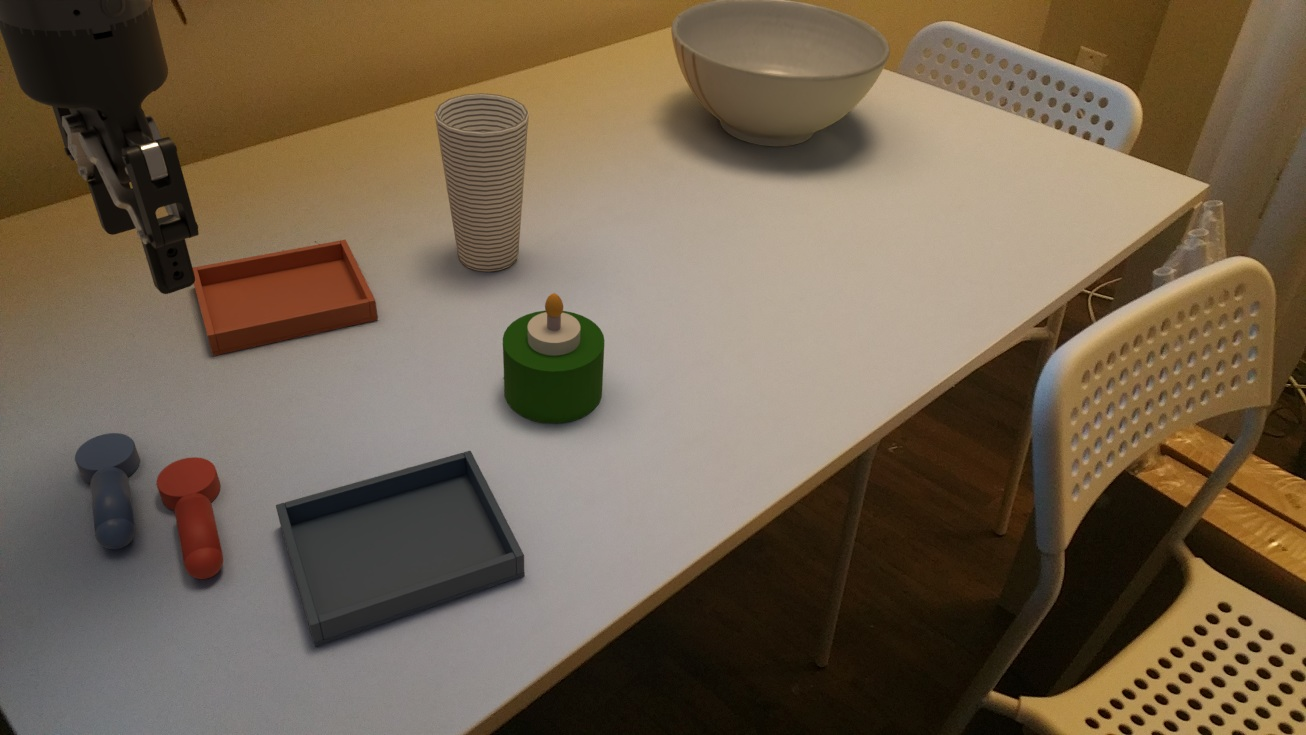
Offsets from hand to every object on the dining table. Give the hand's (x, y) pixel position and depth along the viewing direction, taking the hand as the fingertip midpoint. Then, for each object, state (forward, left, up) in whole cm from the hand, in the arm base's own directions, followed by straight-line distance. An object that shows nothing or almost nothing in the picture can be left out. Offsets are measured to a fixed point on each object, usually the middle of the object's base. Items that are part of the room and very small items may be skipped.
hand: (148, 257), depth 63 cm
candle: (+27, -2, -19) cm, 33 cm away
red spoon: (-2, -6, -19) cm, 20 cm away
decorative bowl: (+73, +37, -19) cm, 84 cm away
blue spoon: (-7, -1, -19) cm, 20 cm away
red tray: (+9, +19, -19) cm, 28 cm away
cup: (+29, +20, -19) cm, 40 cm away
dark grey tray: (+11, -14, -19) cm, 25 cm away
